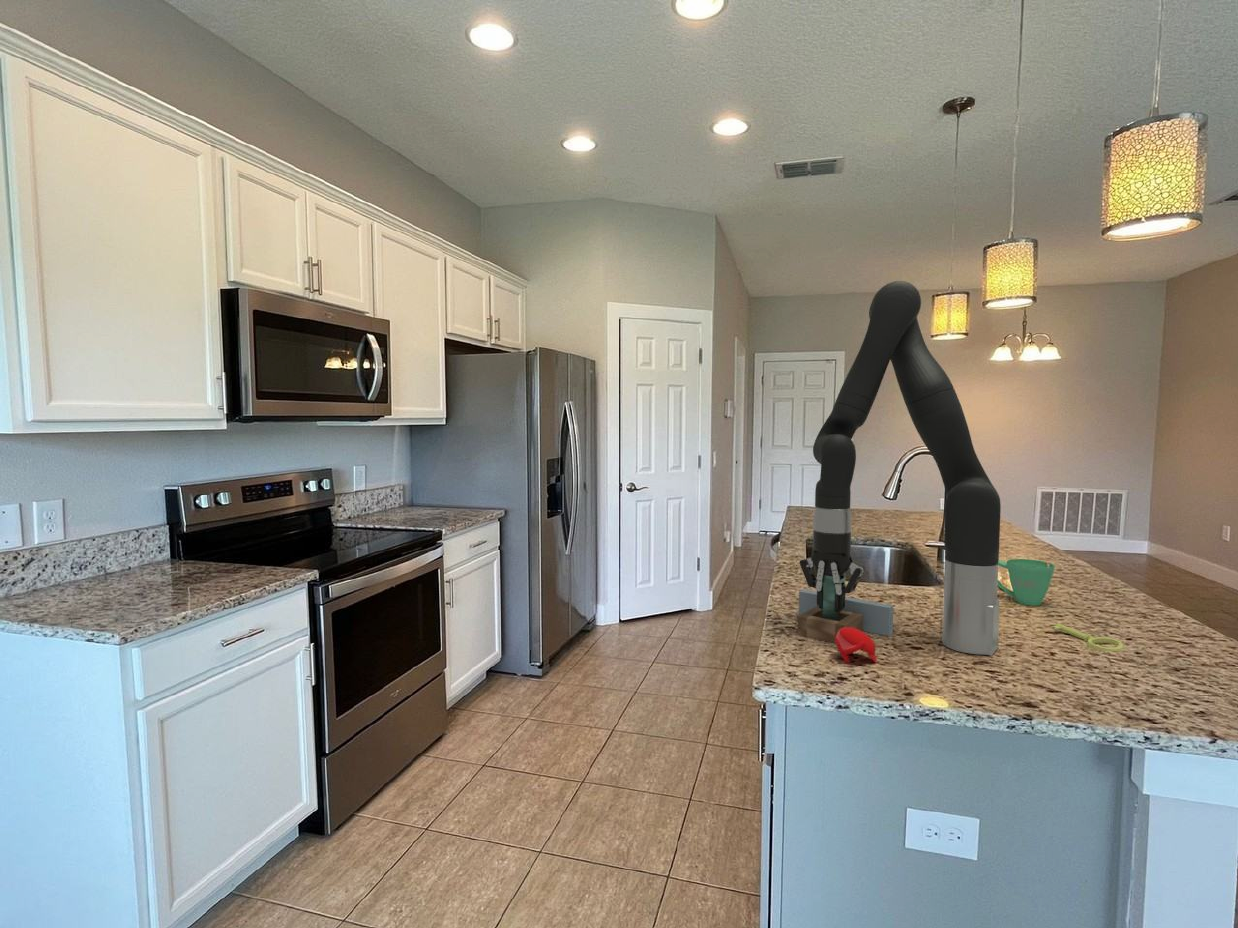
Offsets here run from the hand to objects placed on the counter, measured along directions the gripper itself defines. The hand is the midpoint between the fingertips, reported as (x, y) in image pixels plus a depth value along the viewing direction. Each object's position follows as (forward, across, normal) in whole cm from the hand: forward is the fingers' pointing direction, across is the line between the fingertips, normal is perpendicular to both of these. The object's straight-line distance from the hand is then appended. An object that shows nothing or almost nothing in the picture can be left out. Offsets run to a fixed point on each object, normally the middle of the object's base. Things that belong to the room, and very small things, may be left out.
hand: (830, 609), depth 131 cm
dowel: (+3, 0, 0) cm, 3 cm away
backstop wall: (+5, 0, -7) cm, 9 cm away
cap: (+6, -10, +11) cm, 16 cm away
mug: (+5, -26, -54) cm, 60 cm away
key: (+6, -42, -30) cm, 52 cm away
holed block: (+5, 0, 0) cm, 5 cm away
